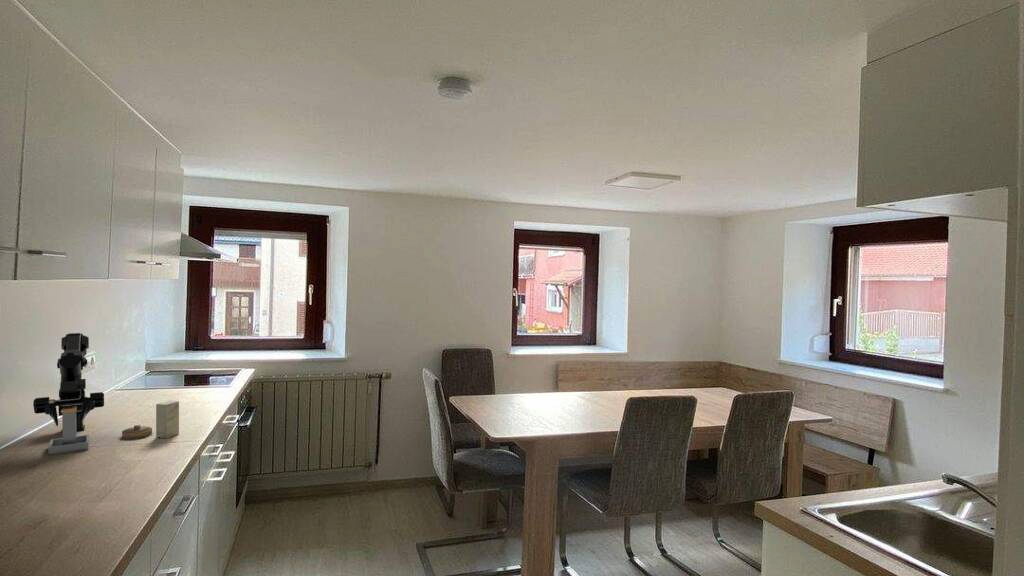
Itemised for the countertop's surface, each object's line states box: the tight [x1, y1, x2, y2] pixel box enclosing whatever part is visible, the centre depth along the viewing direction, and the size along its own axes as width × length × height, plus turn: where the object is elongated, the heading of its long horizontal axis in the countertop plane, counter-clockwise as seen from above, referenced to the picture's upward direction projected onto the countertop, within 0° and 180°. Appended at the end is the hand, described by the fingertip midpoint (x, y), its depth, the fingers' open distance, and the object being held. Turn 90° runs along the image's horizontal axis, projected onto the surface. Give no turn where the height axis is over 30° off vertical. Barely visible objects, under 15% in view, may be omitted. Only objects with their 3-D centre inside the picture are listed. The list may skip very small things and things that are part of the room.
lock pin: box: [61, 406, 77, 445], centre depth 186 cm, size 4×4×13 cm
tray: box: [47, 434, 90, 456], centre depth 186 cm, size 10×10×2 cm
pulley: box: [121, 424, 153, 440], centre depth 201 cm, size 9×9×4 cm
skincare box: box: [155, 400, 180, 439], centre depth 202 cm, size 6×4×12 cm
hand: (69, 424), depth 184 cm, fingers open, 6 cm apart
